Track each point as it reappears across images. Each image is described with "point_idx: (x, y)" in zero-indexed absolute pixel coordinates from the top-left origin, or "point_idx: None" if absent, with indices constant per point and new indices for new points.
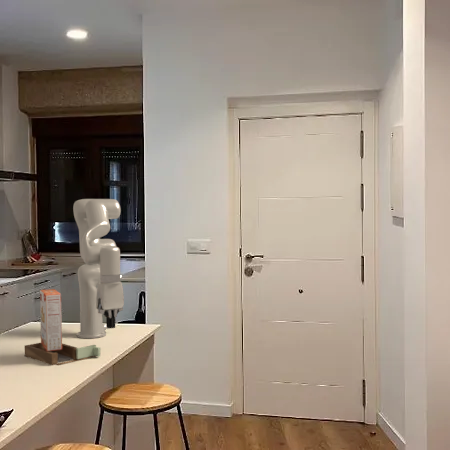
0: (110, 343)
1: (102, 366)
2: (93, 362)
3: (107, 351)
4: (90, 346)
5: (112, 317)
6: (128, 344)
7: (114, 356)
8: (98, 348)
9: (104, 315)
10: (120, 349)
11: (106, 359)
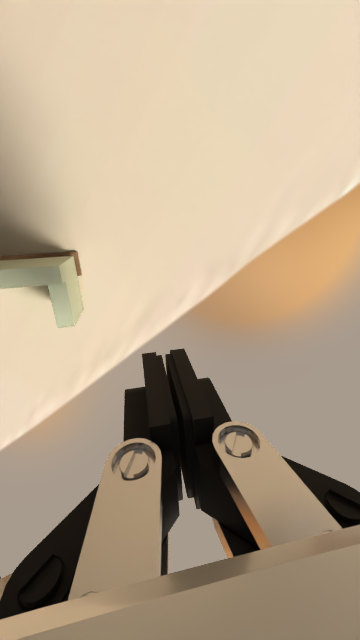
0: (320, 25)
1: (26, 429)
2: (17, 358)
3: (180, 216)
4: (16, 286)
5: (195, 483)
6: (352, 160)
7: (149, 329)
8: (60, 326)
9: (79, 504)
10: (251, 230)
11: (93, 350)
